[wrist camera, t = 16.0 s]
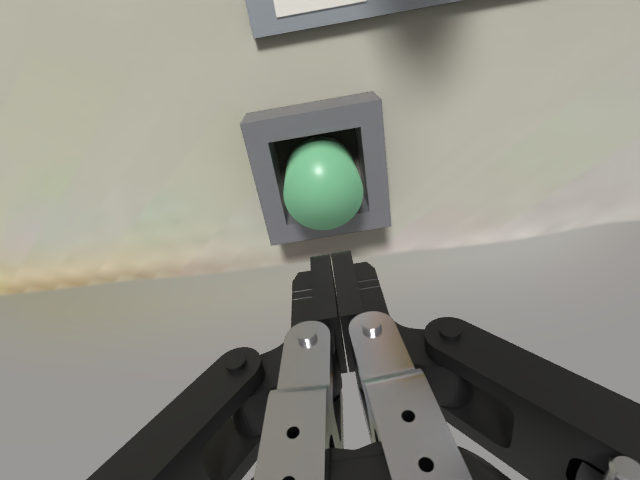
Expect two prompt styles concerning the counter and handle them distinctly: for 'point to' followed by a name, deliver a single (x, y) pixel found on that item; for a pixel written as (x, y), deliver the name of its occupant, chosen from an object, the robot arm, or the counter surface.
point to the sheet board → (321, 12)
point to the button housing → (311, 121)
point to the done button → (322, 184)
